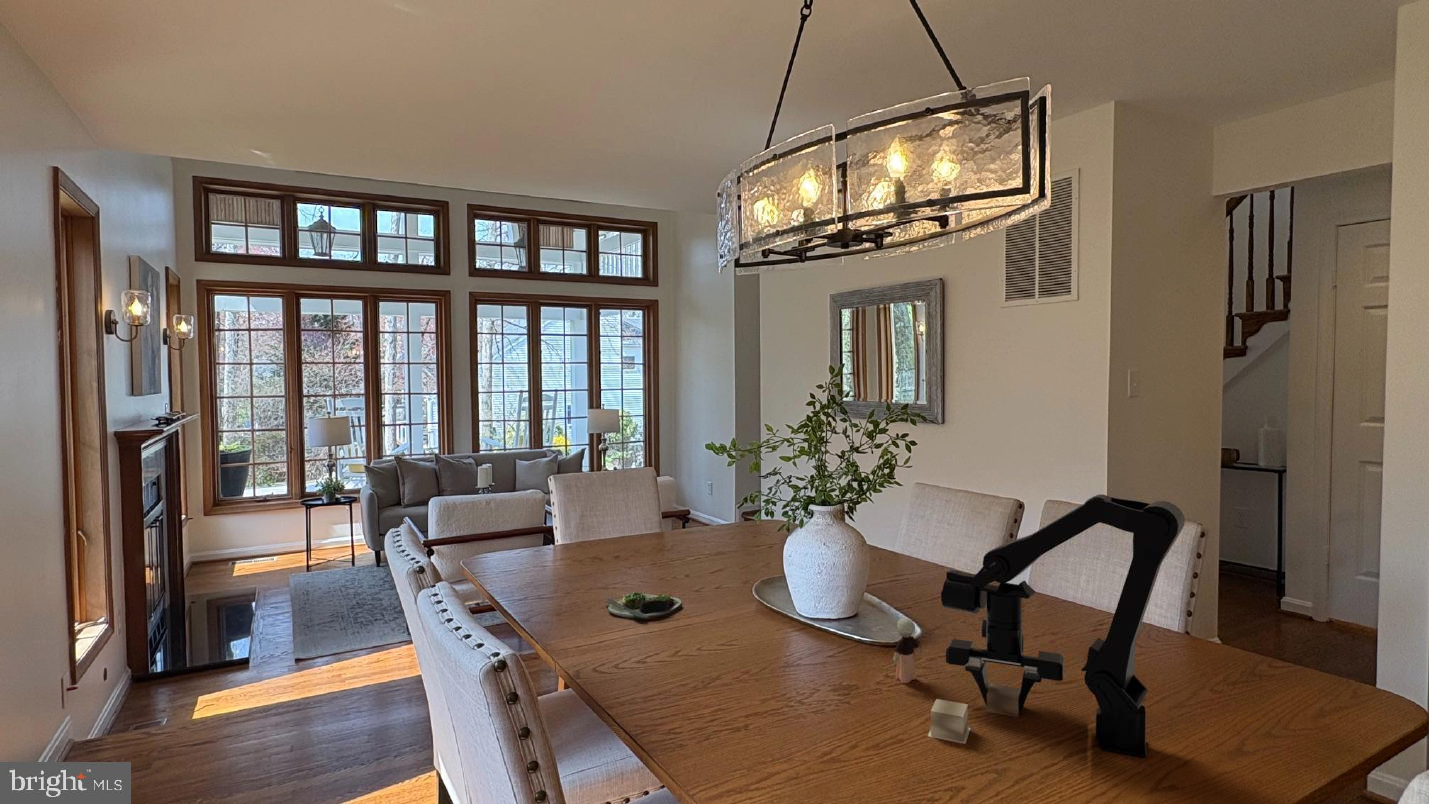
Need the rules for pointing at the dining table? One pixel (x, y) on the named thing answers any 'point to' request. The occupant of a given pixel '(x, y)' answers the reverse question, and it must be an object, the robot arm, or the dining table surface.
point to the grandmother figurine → (906, 651)
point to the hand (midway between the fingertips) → (1003, 707)
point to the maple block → (949, 720)
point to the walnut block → (1003, 699)
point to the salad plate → (644, 606)
